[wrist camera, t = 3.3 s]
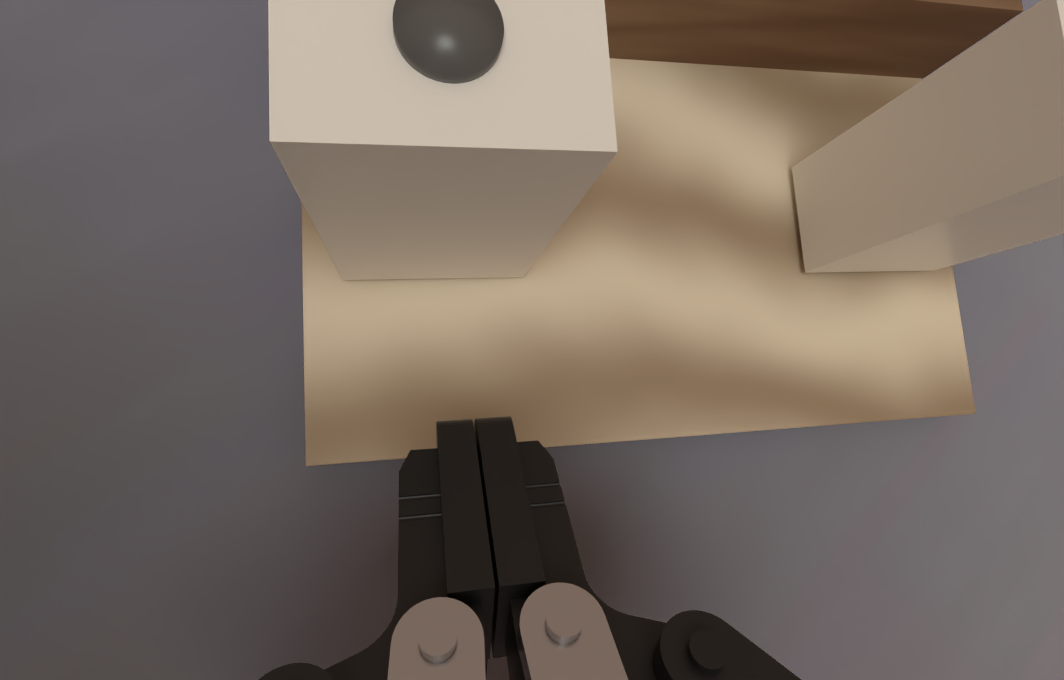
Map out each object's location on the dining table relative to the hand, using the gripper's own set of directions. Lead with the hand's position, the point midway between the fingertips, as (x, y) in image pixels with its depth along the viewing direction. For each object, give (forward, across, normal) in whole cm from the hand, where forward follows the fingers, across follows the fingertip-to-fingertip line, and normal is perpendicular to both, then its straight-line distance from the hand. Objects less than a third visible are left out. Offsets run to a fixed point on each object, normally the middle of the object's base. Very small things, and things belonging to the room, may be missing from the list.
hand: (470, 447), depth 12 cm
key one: (+9, 0, -1) cm, 9 cm away
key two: (+9, -16, -1) cm, 18 cm away
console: (+10, -8, 0) cm, 13 cm away
